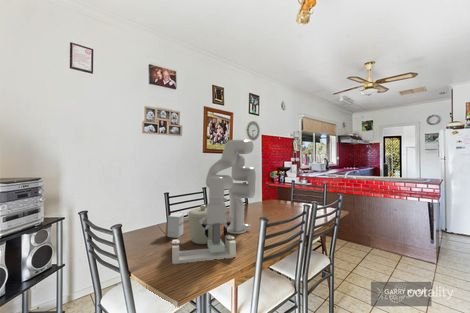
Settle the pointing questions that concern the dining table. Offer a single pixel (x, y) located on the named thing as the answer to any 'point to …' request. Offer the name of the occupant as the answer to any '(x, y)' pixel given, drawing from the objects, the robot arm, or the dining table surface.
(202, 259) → the rail track
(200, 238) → the canister
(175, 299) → the dining table surface
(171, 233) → the supplement box
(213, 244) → the carriage
